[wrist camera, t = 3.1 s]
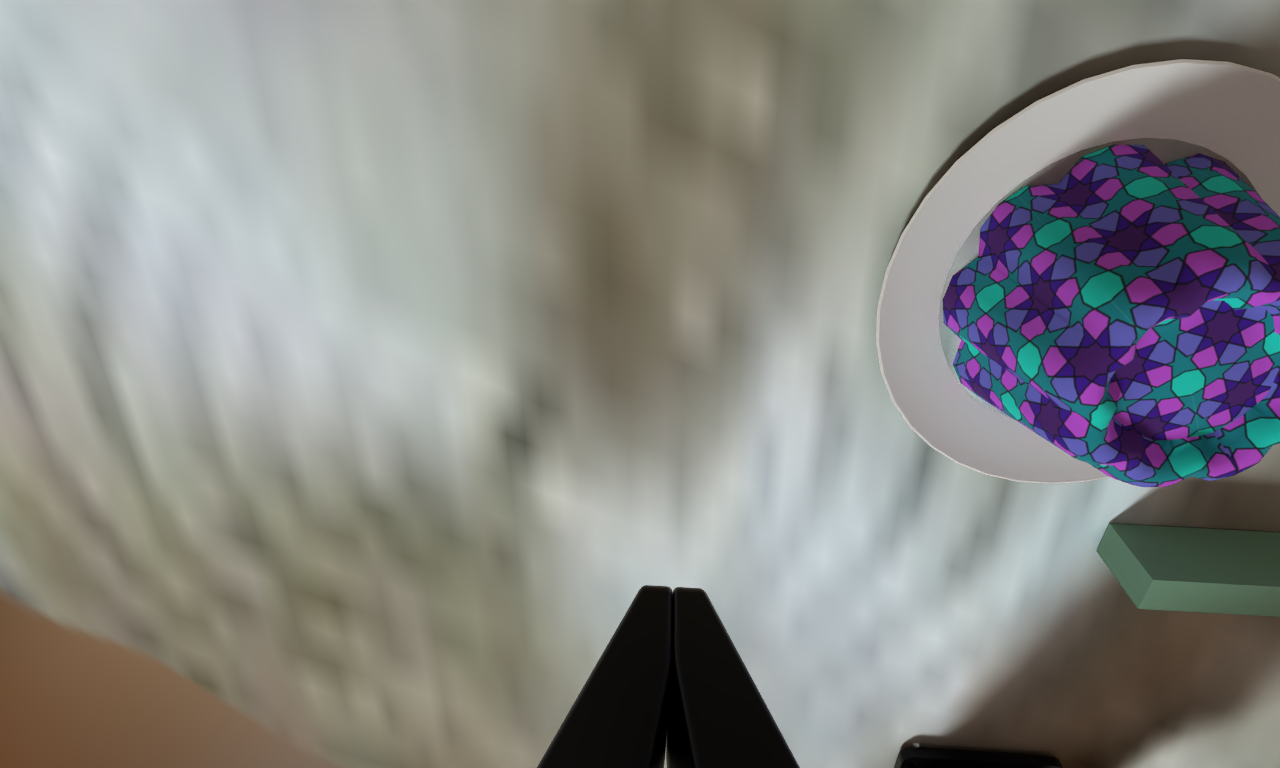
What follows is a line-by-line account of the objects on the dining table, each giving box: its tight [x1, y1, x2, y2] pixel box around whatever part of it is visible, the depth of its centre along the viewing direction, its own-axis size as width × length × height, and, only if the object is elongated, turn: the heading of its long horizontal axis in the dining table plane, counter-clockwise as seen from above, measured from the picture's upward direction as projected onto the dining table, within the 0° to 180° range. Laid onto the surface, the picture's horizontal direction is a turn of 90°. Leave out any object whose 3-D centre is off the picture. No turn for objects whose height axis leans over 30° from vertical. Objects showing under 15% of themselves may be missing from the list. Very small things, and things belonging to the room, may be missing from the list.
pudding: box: [876, 59, 1280, 487], centre depth 18 cm, size 12×12×5 cm
